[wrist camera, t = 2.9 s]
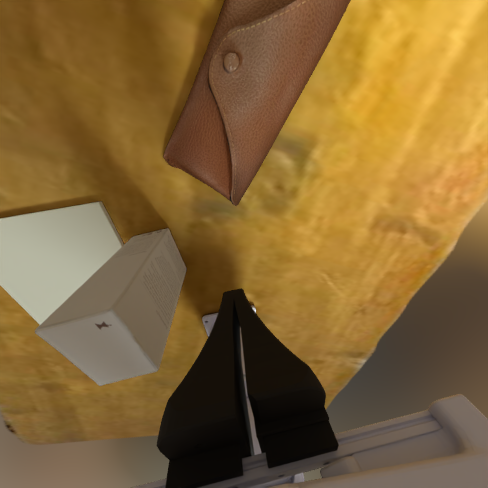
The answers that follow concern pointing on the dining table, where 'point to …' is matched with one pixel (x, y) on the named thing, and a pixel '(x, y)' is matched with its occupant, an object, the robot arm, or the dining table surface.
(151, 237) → the skincare box
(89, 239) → the mat
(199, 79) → the sunglasses case
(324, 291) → the dining table surface
